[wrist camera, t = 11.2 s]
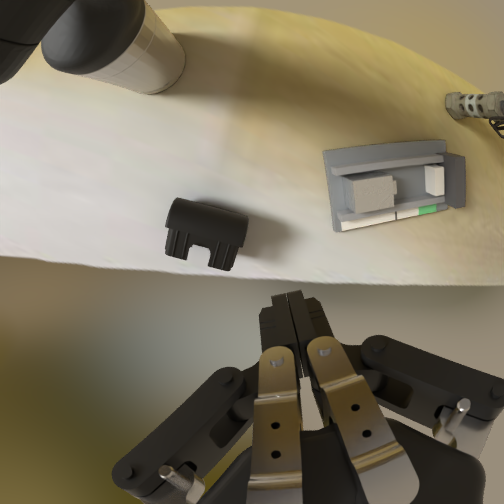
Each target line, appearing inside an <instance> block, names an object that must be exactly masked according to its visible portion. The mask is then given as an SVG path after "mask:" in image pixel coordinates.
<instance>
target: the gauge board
mask: <svg viewBox="0 0 504 504" xmlns="http://www.w3.org/2000/svg"><path fill="white" fill-rule="evenodd" d="M323 157H324V163H325V169H326V176H327V183H328V190H329V197H330V205H331V213H332V221H333V230H334V231H335V232H340V231H345V230H350V229H354V228H359V227H364V226H369V225H373V224H378V223H383V222H388V221H393V220H397V219H402V218H407V217H412V216H416V215H422V214H426V213H431V212H436V211H440V210H445V209H447V205H449V206H451V207H453V208H455V209H456V208H461V207H465V197H466V169H465V157H464V156H460V155H456V154H452V153H447V152H446V143H445V140H423V141H407V142H394V143H383V144H373V145H364V146H356V147H348V148H340V149H333V150H326V151H323ZM430 164H435V165H438V166H442V167H444V195H439V196H434V195H432V194H430V193H427V192H426V185H425V165H430ZM373 171H381V172H384V173H387V174H390V175H392V178H393V179H394V180H396V185H397V194H394V207H390V208H384V209H379V210H374V211H369V212H364V213H359V214H355V213H354V212H353V211H352V210H350V209H349V208H348V207H347V206H346V203H345V195H344V186H343V179H342V176H347V175H353V174H360V173H367V172H373Z"/></svg>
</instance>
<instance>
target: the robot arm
mask: <svg viewBox="0 0 504 504" xmlns="http://www.w3.org/2000/svg"><path fill="white" fill-rule="evenodd" d="M40 41H41V49H42V53H43V56H44V59H45V60H46V62H47V63H48V64H49V65H50V66H51V67H53V68H54V69H56V70H59V71H61V72H65V73H70V74H74V75H78V76H83V77H87V78H91V79H95V80H98V81H102V82H105V83H109V84H112V85H116V86H119V87H122V88H126V89H129V90H132V91H135V92H138V93H142V94H155V93H159V92H161V91H163V90H166V89H167V88H169V87H170V86H172V85H173V84H174V83H175V82H176V81H177V80H178V78H179V77H180V75H181V74H182V71H183V69H184V66H185V53H184V50H183V48H182V47H181V45H180V44H179V42H178V41H177V40H176V38H175V37H174V36H173V34H172V33H171V32H170V30H169V29H168V28H167V27H166V25H165V24H164V23H163V22H162V20H161V19H160V18H159V17H158V15H157V14H156V13H155V12H154V10H153V9H152V8H151V7H150V5H148V3H147V2H146V1H145V0H0V84H2V83H4V82H6V81H8V80H9V79H11V78H12V77H13V76H14V75H15V74H16V73H17V72H18V71H19V69H20V68H21V67H22V66H23V64H24V63H25V62H26V61H27V59H28V58H29V57H30V55H31V54H32V52H33V51H34V50H35V48H36V47H37V46H38V44H39V42H40ZM287 298H288V301H287ZM271 299H272V304H273V306H271V307H266V308H262V310H261V312H260V314H259V323H260V334H261V345H262V355H261V356H260V359H259V361H258V362H257V363H256V364H255V365H254V366H252V367H250V368H248V369H245V370H243V371H240V370H239V369H237V368H235V367H225V368H221V369H219V370H217V371H216V372H214V373H213V374H212V375H211V376H210V377H209V378H208V380H206V381H205V382H204V383H203V384H202V385H201V386H200V387H199V388H198V389H197V390H196V391H195V392H194V393H193V394H192V395H191V396H190V397H189V398H188V399H187V400H186V401H185V402H184V403H183V404H182V405H181V406H180V407H179V408H177V410H175V411H174V412H173V413H172V414H171V415H170V416H169V417H168V418H167V419H166V420H165V421H164V422H163V423H161V424H160V425H159V426H158V427H157V428H156V429H155V430H154V431H153V432H151V433H150V434H149V435H148V436H147V437H146V438H145V439H144V440H143V441H142V442H140V443H139V444H138V445H137V446H136V447H135V448H133V449H132V450H131V451H130V452H129V453H128V454H126V455H125V456H124V457H123V458H122V459H121V460H119V461H118V462H117V463H116V464H115V466H114V467H113V470H112V479H113V481H114V483H115V484H116V485H117V486H118V487H120V488H121V489H123V490H125V491H127V492H128V493H130V494H131V495H133V496H135V497H136V498H138V499H140V500H141V501H142V502H143V503H144V504H483V494H484V488H485V482H486V479H485V478H486V476H485V471H484V468H483V466H482V464H481V463H480V461H479V460H478V459H479V457H480V454H481V452H482V450H483V448H484V445H485V443H486V440H487V438H488V435H489V433H490V430H491V428H492V425H493V422H494V420H495V419H496V418H497V416H498V415H499V414H500V413H501V411H502V410H503V409H504V379H502V378H499V377H496V376H493V375H490V374H487V373H484V372H481V371H478V370H476V369H472V368H470V367H467V366H464V365H461V364H459V363H456V362H453V361H450V360H448V359H445V358H442V357H439V356H437V355H434V354H431V353H428V352H426V351H423V350H421V349H418V348H415V347H413V346H410V345H407V344H405V343H402V342H399V341H397V340H394V339H392V338H389V337H387V336H383V335H375V336H371V337H369V338H367V339H366V340H365V341H364V342H363V343H362V345H345V344H342V343H340V342H339V341H338V340H337V339H336V338H335V337H334V335H333V333H332V330H331V328H330V325H329V323H328V320H327V318H326V316H325V313H324V311H323V308H322V306H321V303H320V302H319V301H318V300H316V299H315V298H314V297H312V298H308V299H304V297H303V294H302V291H301V290H298V291H293V292H288V293H287V297H286V293H284V294H279V295H274V296H271ZM288 304H289V305H288ZM300 360H301V361H300ZM301 364H302V368H301ZM302 369H303V373H304V377H308V376H309V377H310V381H311V388H312V392H313V395H314V398H315V401H316V404H317V407H318V410H319V413H320V416H321V419H322V422H323V426H324V428H322V429H320V430H315V431H304V430H303V418H302V407H301V397H300V389H301V387H300V380H299V378H303V375H302ZM378 404H379V405H381V406H383V407H385V408H387V409H389V410H391V411H393V412H395V413H398V414H400V415H402V416H404V417H406V418H408V419H411V420H413V421H415V422H417V423H420V424H422V425H424V426H427V427H429V428H431V429H432V433H433V436H434V438H435V439H433V438H431V437H429V436H427V435H425V434H423V433H421V432H419V431H417V430H415V429H413V428H411V427H409V426H407V425H405V424H403V423H401V422H399V421H397V420H394V419H391V418H386V417H384V415H383V413H382V411H381V409H380V407H379V405H378ZM252 423H253V437H252V438H253V439H252V446H250V447H249V448H247V449H246V450H244V451H243V452H242V453H241V454H240V455H239V456H238V457H237V458H236V459H235V460H234V461H233V462H232V464H231V465H230V466H229V468H227V470H226V471H225V472H224V473H223V474H222V475H221V477H220V478H219V479H218V480H217V481H216V482H215V483H214V485H213V486H212V487H211V488H210V489H209V490H208V491H207V492H206V493H205V494H204V495H203V496H202V498H201V499H200V500H199V498H200V497H201V495H202V494H203V492H204V490H205V483H204V480H203V478H204V477H205V475H206V474H207V473H208V472H209V471H210V470H211V469H212V468H213V467H214V466H215V465H216V464H217V463H218V462H219V461H220V460H221V459H222V458H223V457H224V456H225V454H226V453H227V452H228V451H229V450H230V449H231V448H232V447H233V445H234V444H235V443H236V442H237V441H238V440H239V439H240V438H241V436H242V435H243V434H244V433H245V432H246V431H247V429H248V428H249V427H250V426H251V424H252ZM198 500H199V501H198Z"/></svg>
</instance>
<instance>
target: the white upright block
mask: <svg viewBox="0 0 504 504" xmlns="http://www.w3.org/2000/svg"><path fill="white" fill-rule="evenodd" d="M425 185H426V192H427V193H430V194H432V195H434V196H439V195H444V167H442V166H438V165H435V164H430V165H425Z"/></svg>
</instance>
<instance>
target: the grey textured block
mask: <svg viewBox="0 0 504 504" xmlns="http://www.w3.org/2000/svg"><path fill="white" fill-rule="evenodd" d="M342 179H343V186H344V195H345V203H346V206H347V207H348V208H349V209H350V210H352V211H353V212H354V213H355V214H359V213H364V212H369V211H374V210H379V209H384V208H390V207H394V194H397V185H396V180H394V179H393V178H392V175H390V174H387V173H384V172H381V171H373V172H367V173H360V174H353V175H347V176H342Z"/></svg>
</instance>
